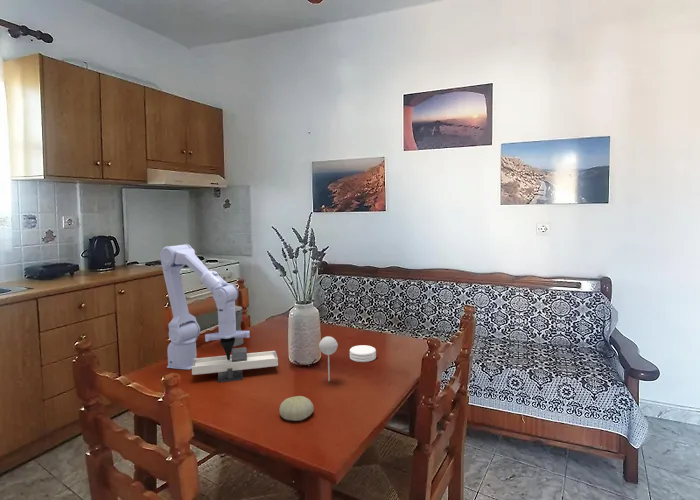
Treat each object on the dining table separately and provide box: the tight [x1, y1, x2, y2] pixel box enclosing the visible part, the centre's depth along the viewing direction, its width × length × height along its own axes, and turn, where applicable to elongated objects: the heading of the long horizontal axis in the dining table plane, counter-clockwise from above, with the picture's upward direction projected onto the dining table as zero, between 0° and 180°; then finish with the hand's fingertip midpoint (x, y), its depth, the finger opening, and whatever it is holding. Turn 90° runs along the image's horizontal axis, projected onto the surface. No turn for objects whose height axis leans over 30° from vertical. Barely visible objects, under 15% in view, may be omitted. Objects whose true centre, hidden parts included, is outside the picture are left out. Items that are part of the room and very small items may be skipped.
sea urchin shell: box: [278, 395, 314, 422], centre depth 121 cm, size 9×8×8 cm
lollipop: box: [318, 335, 339, 382], centre depth 143 cm, size 6×6×15 cm
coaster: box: [349, 344, 377, 363], centre depth 166 cm, size 10×10×4 cm
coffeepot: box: [232, 305, 245, 348], centre depth 184 cm, size 15×9×18 cm, turn 44°
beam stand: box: [217, 368, 244, 383], centre depth 151 cm, size 8×12×4 cm, turn 16°
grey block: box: [231, 347, 248, 362], centre depth 151 cm, size 5×5×4 cm
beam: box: [191, 350, 279, 376], centre depth 151 cm, size 28×8×3 cm, turn 106°
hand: (228, 359), depth 150 cm, fingers closed
